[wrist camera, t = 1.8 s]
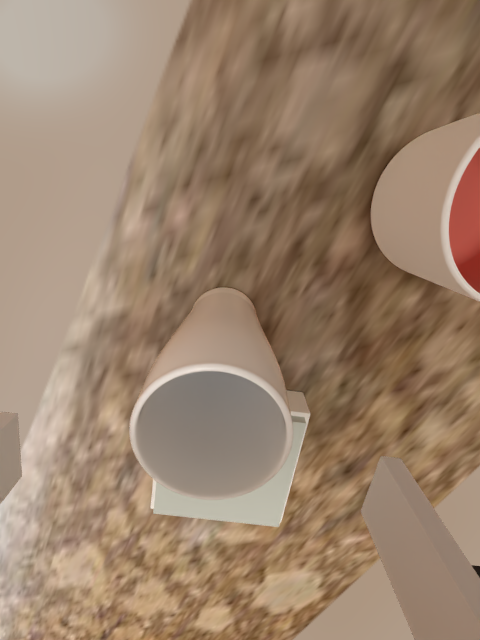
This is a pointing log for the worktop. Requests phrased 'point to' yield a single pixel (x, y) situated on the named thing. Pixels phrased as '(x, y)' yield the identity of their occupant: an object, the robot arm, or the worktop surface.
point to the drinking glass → (214, 404)
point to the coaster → (252, 506)
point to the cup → (434, 207)
